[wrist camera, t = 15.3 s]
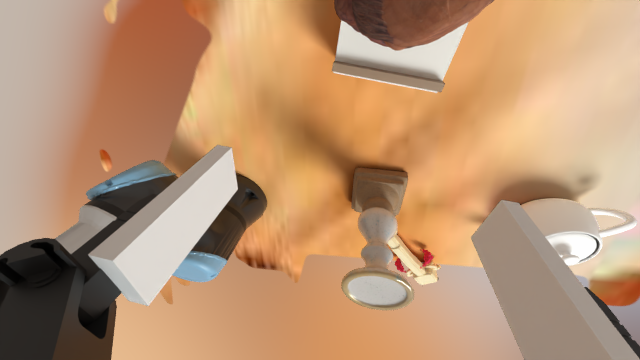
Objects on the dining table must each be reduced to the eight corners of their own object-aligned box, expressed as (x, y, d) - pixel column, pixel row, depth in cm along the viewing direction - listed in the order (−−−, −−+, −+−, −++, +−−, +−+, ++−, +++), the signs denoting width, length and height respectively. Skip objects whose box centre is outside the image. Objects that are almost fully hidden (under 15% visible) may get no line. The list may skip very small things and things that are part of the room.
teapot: (591, 168, 39) (650, 212, 30) (616, 215, 43) (674, 265, 35) (461, 219, 51) (477, 260, 43) (490, 251, 55) (510, 295, 47)
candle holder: (355, 166, 49) (339, 264, 30) (408, 171, 47) (427, 280, 28) (351, 204, 55) (337, 303, 37) (398, 210, 53) (408, 318, 35)
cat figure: (364, 222, 60) (414, 278, 67) (360, 248, 53) (417, 308, 60) (398, 208, 55) (449, 271, 61) (398, 234, 48) (456, 302, 54)
